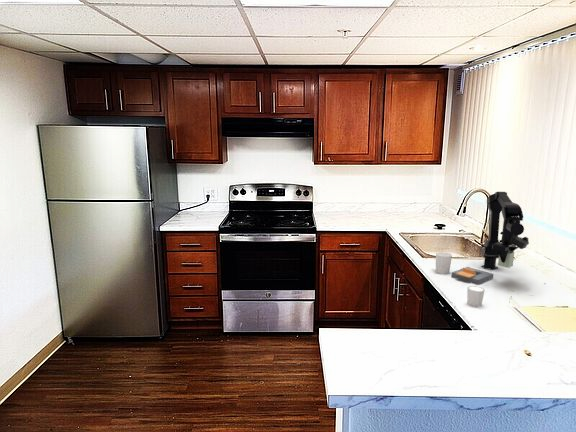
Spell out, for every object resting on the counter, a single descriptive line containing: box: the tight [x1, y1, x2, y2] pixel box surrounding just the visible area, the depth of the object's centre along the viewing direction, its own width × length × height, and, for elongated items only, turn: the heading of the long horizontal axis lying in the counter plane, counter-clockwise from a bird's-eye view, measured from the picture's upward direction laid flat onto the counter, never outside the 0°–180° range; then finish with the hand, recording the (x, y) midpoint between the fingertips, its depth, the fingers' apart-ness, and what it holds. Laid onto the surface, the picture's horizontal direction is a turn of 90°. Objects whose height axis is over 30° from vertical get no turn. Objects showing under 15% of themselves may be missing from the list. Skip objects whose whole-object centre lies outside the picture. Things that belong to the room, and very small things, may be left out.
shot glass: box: [466, 285, 485, 308], centre depth 174 cm, size 7×7×7 cm
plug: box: [497, 249, 515, 269], centre depth 197 cm, size 4×5×9 cm
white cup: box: [435, 251, 453, 275], centre depth 214 cm, size 8×8×10 cm
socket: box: [450, 266, 494, 286], centre depth 206 cm, size 15×14×2 cm
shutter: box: [456, 267, 476, 278], centre depth 202 cm, size 6×7×2 cm
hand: (505, 261), depth 197 cm, fingers closed on plug, 4 cm apart
